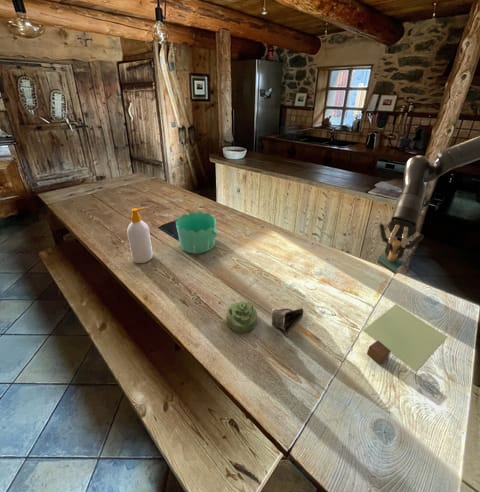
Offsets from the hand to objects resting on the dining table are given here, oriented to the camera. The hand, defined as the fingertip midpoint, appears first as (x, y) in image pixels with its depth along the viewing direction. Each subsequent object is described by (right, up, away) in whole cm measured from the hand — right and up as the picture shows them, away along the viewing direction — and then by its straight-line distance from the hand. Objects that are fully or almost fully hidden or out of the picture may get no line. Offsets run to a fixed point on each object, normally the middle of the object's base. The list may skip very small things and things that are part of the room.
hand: (392, 256), depth 87 cm
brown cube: (-11, -27, -11) cm, 31 cm away
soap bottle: (-93, -6, +31) cm, 98 cm away
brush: (+3, -4, +6) cm, 8 cm away
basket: (-70, -2, +42) cm, 82 cm away
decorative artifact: (-49, -21, +1) cm, 54 cm away
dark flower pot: (-35, -21, +1) cm, 41 cm away
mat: (+2, -24, -4) cm, 24 cm away
